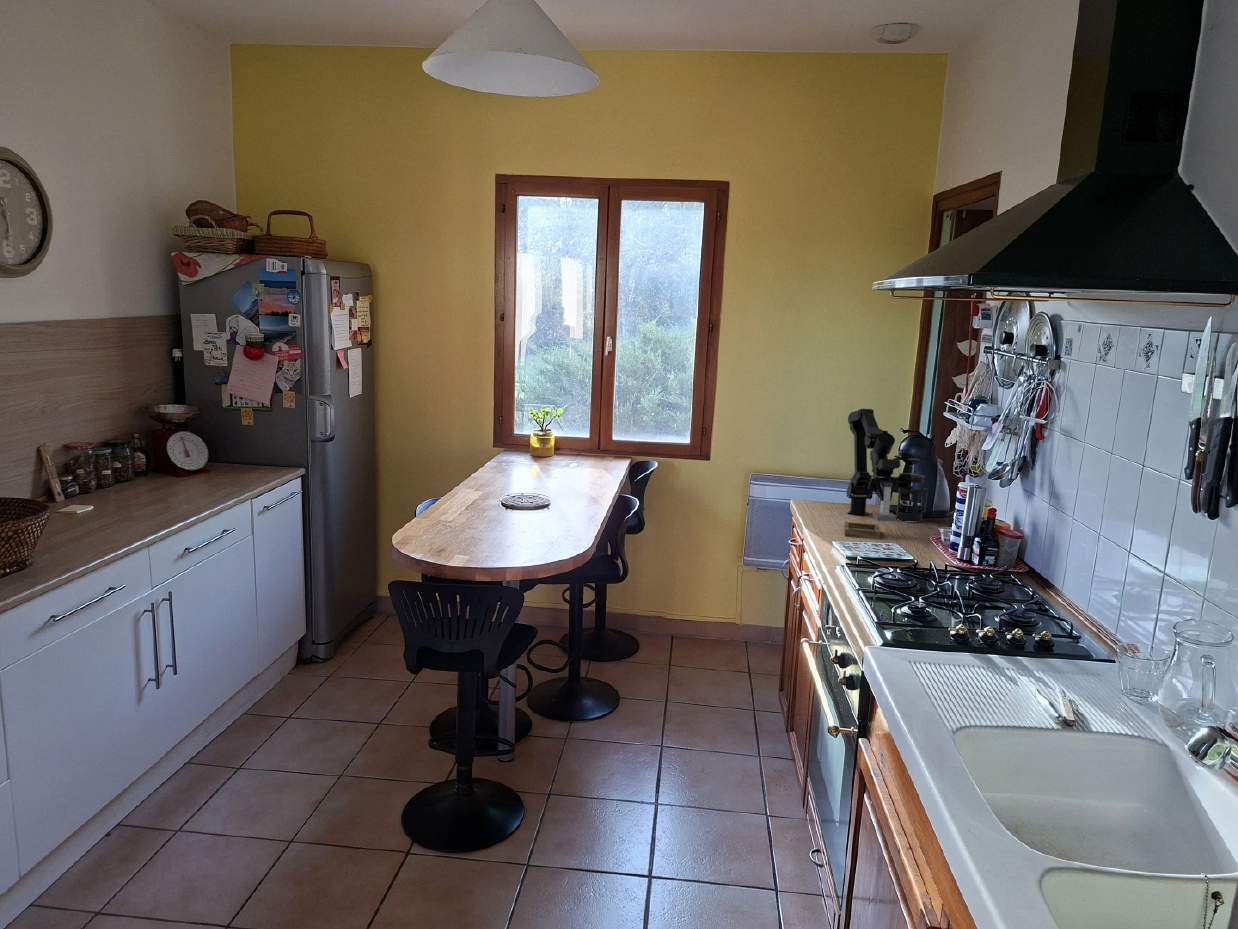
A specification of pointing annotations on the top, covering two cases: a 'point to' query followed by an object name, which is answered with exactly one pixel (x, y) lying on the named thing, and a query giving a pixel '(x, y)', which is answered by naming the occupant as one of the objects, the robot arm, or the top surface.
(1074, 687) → the top surface
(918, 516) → the french press
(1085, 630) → the top surface
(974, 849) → the top surface
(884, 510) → the post on square base
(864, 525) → the dock
